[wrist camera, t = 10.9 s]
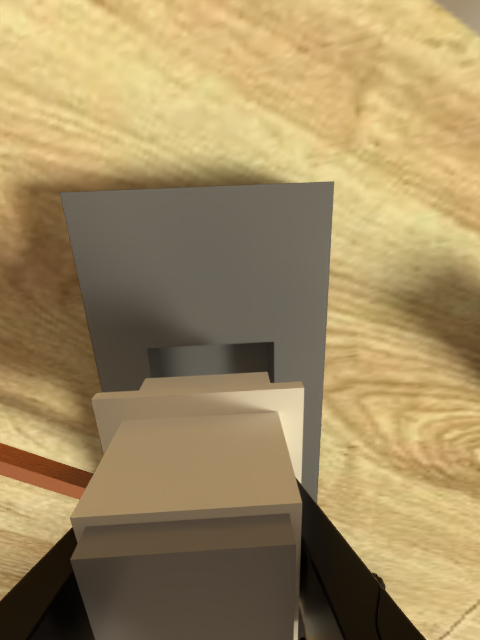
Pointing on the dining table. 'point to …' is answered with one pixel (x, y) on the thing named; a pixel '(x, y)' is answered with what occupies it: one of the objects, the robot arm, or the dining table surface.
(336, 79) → the dining table surface
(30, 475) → the copper link
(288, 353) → the grey socket base
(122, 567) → the plug
